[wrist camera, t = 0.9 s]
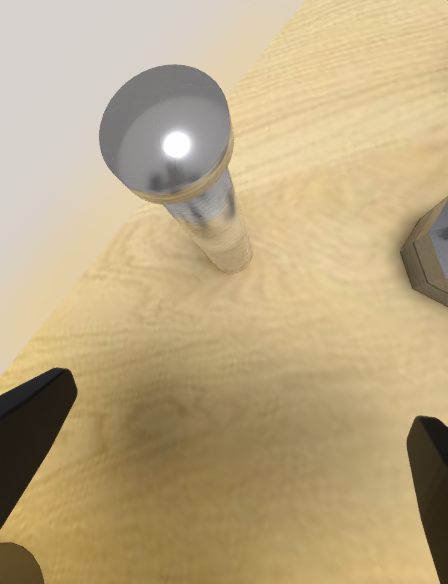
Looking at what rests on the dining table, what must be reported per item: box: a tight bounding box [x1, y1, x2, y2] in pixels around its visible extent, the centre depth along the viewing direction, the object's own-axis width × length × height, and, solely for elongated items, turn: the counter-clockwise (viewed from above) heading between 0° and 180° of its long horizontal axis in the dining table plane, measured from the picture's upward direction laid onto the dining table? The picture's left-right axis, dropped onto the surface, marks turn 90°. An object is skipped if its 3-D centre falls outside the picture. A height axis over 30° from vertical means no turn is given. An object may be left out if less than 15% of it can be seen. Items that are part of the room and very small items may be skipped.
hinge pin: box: [99, 65, 252, 273], centre depth 16 cm, size 4×4×14 cm
